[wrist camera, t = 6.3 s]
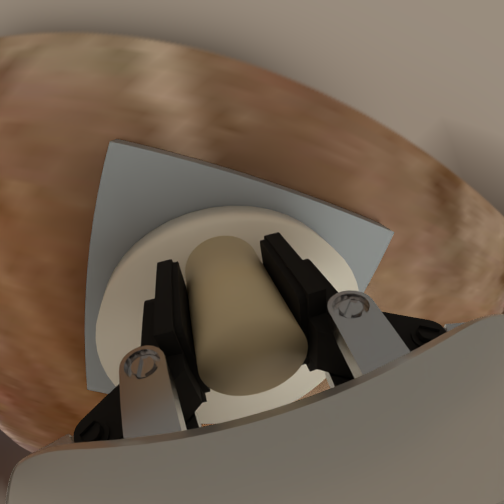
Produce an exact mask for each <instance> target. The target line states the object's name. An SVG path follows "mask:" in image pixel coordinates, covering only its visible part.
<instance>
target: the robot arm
mask: <svg viewBox="0 0 504 504" xmlns="http://www.w3.org/2000/svg"><path fill="white" fill-rule="evenodd" d="M260 248H261V254H262V261H263V265H264V267H265V269H266V270H267V272H268V274H269V275H270V277H271V279H272V280H273V282H274V284H275V286H276V287H277V289H278V291H279V292H280V294H281V296H282V297H283V299H284V301H285V302H286V304H287V306H288V307H289V309H290V311H291V313H292V314H293V316H294V318H295V319H296V321H297V323H298V324H299V326H300V328H301V329H302V331H303V333H304V335H305V337H306V339H307V343H308V351H307V355H306V358H305V360H304V362H303V364H302V365H304V364H306V365H307V367H308V369H309V371H310V372H311V371H314V370H316V369H318V370H321V371H325V376H326V379H327V381H328V383H329V386H330V388H331V389H328V390H326V391H323V392H320V393H318V394H315V395H312V396H310V397H307V398H304V399H301V400H298V401H295V402H292V403H289V404H286V405H283V406H280V407H277V408H274V409H271V410H267V411H264V412H261V413H257V414H253V415H250V416H246V417H242V418H239V419H235V420H231V421H226V422H222V423H218V424H214V425H209V426H204V427H202V426H201V423H200V420H199V417H198V414H197V412H196V410H197V409H198V408H199V406H200V405H201V404H202V403H204V402H207V400H206V395H205V393H207V392H210V388H209V387H207V386H206V385H205V384H204V383H203V381H202V380H201V378H200V376H199V373H198V367H197V361H196V355H195V348H194V341H193V334H192V327H191V319H190V311H189V303H188V294H187V288H186V285H185V282H184V278H183V275H182V272H181V269H180V266H179V263H178V261H177V262H173V261H172V259H169V260H165V261H161V262H158V263H157V271H156V285H155V298H154V299H150V300H146V301H145V302H144V308H143V320H142V333H141V346H140V347H137V348H135V349H133V350H131V351H130V352H128V353H127V354H126V355H125V356H124V357H123V359H122V361H121V363H120V366H119V384H118V385H117V386H116V387H115V388H114V389H113V390H112V391H111V392H110V393H109V394H108V395H107V396H106V397H105V398H104V399H103V400H102V401H101V402H100V403H99V404H98V405H97V406H96V407H95V408H94V409H92V410H91V411H90V412H89V413H88V414H87V415H86V416H85V417H84V418H83V419H82V420H81V421H80V422H79V424H78V425H77V426H76V429H75V431H74V435H73V436H71V435H69V434H67V435H65V436H64V437H62V438H60V439H58V440H56V441H54V442H53V443H51V444H49V445H47V446H45V447H43V448H41V449H39V450H38V451H36V452H34V453H32V454H30V455H28V456H27V457H25V458H23V459H22V460H21V461H19V462H18V463H17V465H16V466H15V467H14V469H13V471H12V474H11V477H10V480H9V484H8V490H7V496H6V504H504V314H494V315H489V316H484V317H480V318H477V319H474V320H471V321H469V322H467V323H454V324H445V326H444V328H443V327H442V326H441V325H440V324H438V323H436V322H434V321H430V320H425V319H419V318H414V317H408V316H402V315H397V314H391V313H386V312H381V310H380V309H379V308H378V306H377V305H376V304H375V302H374V301H373V300H372V299H371V298H370V297H369V296H368V295H367V294H365V293H363V292H359V291H352V290H348V291H342V292H339V293H338V291H337V290H336V289H335V288H334V287H333V286H332V284H331V283H330V282H329V281H328V280H327V279H326V278H325V276H324V275H323V274H322V273H321V272H320V271H319V269H318V268H317V267H316V266H315V265H314V264H313V263H312V262H311V260H309V259H304V260H302V259H301V257H300V256H299V255H298V254H297V253H296V252H295V250H294V249H293V248H292V247H291V246H290V244H289V243H288V242H287V241H286V240H285V239H284V237H283V236H282V235H281V234H280V233H279V232H277V233H273V234H269V235H265V236H264V240H260Z"/></svg>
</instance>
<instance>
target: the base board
mask: <svg viewBox="0 0 504 504" xmlns="http://www.w3.org/2000/svg"><path fill="white" fill-rule="evenodd" d="M222 206H253V207H259V208H265V209H270V210H273V211H276V212H280V213H283V214H286V215H288V216H290V217H292V218H294V219H296V220H298V221H300V222H302V223H304V224H305V225H306V226H308V227H309V228H311V229H312V230H313V231H315V232H316V233H317V234H318V235H319V236H320V237H322V238H323V239H324V240H325V241H326V242H327V243H328V244H329V245H331V246H332V247H333V248H334V249H335V250H336V251H337V252H338V253H339V254H340V255H341V256H342V257H343V259H344V260H345V261H346V263H347V264H348V266H349V267H350V269H351V270H352V272H353V275H354V277H355V279H356V282H357V285H358V290H359V292H363V293H364V291H365V289H366V287H367V285H368V283H369V282H370V280H371V278H372V276H373V274H374V272H375V270H376V268H377V267H378V265H379V263H380V261H381V259H382V257H383V255H384V253H385V251H386V249H387V247H388V245H389V242H390V240H391V238H392V236H393V234H394V232H393V231H391V230H390V229H388V228H387V227H385V226H384V225H382V224H380V223H378V222H376V221H373V220H371V219H368V218H366V217H364V216H361V215H359V214H356V213H354V212H351V211H349V210H346V209H344V208H341V207H339V206H336V205H333V204H331V203H328V202H326V201H323V200H320V199H318V198H315V197H312V196H309V195H307V194H304V193H301V192H298V191H296V190H293V189H290V188H287V187H284V186H281V185H278V184H275V183H272V182H269V181H266V180H263V179H260V178H257V177H254V176H251V175H248V174H245V173H242V172H239V171H235V170H232V169H229V168H226V167H222V166H219V165H216V164H212V163H209V162H205V161H202V160H198V159H195V158H191V157H188V156H184V155H180V154H177V153H173V152H169V151H165V150H161V149H157V148H153V147H149V146H145V145H141V144H137V143H132V142H128V141H124V140H119V139H115V140H113V141H110V143H109V147H108V151H107V155H106V159H105V163H104V167H103V171H102V176H101V181H100V186H99V191H98V196H97V201H96V207H95V213H94V219H93V226H92V233H91V241H90V249H89V258H88V269H87V282H86V300H85V360H86V378H87V390H92V391H96V392H101V393H106V394H109V393H110V392H111V391H112V390H113V389H114V388H115V387H116V386H115V385H114V384H113V383H112V381H111V380H110V379H109V377H108V376H107V374H106V372H105V370H104V368H103V366H102V365H101V362H100V359H99V356H98V352H97V346H96V339H95V338H96V323H97V318H98V314H99V310H100V307H101V303H102V300H103V296H104V293H105V290H106V287H107V284H108V281H109V279H110V277H111V275H112V273H113V271H114V269H115V268H116V266H117V265H118V263H119V262H120V260H121V259H122V258H123V256H124V255H125V254H126V253H127V252H128V251H129V250H130V249H131V248H132V247H133V246H134V244H135V243H136V242H138V241H139V240H140V239H142V238H143V237H144V236H145V235H147V234H148V233H149V232H151V231H152V230H154V229H156V228H157V227H159V226H161V225H163V224H164V223H166V222H168V221H170V220H172V219H175V218H177V217H180V216H182V215H185V214H188V213H191V212H195V211H199V210H203V209H207V208H213V207H222Z"/></svg>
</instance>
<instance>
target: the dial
mask: <svg viewBox="0 0 504 504" xmlns="http://www.w3.org/2000/svg"><path fill="white" fill-rule="evenodd" d="M277 232H279V233H280V234H281V235H282V236H283V237H284V239H285V240H286V241H287V242H288V243H289V244H290V246H291V247H292V248H293V249H294V250H295V252H296V253H297V254H298V255H299V256H300V257H301V259H302V260H304V259H309V260H311V262H312V263H313V264H314V265H315V266H316V267H317V268H318V269H319V271H320V272H321V273H322V274H323V275H324V276H325V278H326V279H327V280H328V281H329V282H330V283H331V284H332V286H333V287H334V288H335V289H336V290H337V291H338V293H339V292H342V291H348V290H352V291H359V290H358V285H357V282H356V279H355V277H354V275H353V272H352V270H351V269H350V267H349V266H348V264H347V263H346V261H345V260H344V259H343V257H342V256H341V255H340V254H339V253H338V252H337V251H336V250H335V249H334V248H333V247H332V246H331V245H329V244H328V243H327V242H326V241H325V240H324V239H323V238H322V237H320V236H319V235H318V234H317V233H316V232H315V231H313V230H312V229H311V228H309V227H308V226H306V225H305V224H304V223H302V222H300V221H298V220H296V219H294V218H292V217H290V216H288V215H286V214H283V213H280V212H276V211H273V210H270V209H265V208H259V207H253V206H222V207H213V208H207V209H203V210H199V211H195V212H191V213H188V214H185V215H182V216H180V217H177V218H175V219H172V220H170V221H168V222H166V223H164V224H163V225H161V226H159V227H157V228H156V229H154V230H152V231H151V232H149V233H148V234H147V235H145V236H144V237H143V238H142V239H140V240H139V241H138V242H136V243H135V244H134V246H133V247H132V248H131V249H130V250H129V251H128V252H127V253H126V254H125V255H124V256H123V258H122V259H121V260H120V262H119V263H118V265H117V266H116V268H115V269H114V271H113V273H112V275H111V277H110V279H109V281H108V284H107V287H106V290H105V293H104V296H103V300H102V303H101V307H100V310H99V314H98V318H97V323H96V338H95V339H96V346H97V352H98V356H99V359H100V362H101V365H102V366H103V368H104V370H105V372H106V374H107V376H108V377H109V379H110V380H111V381H112V383H113V384H114V385H115V386H117V385H118V384H119V366H120V363H121V361H122V359H123V357H124V356H125V355H126V354H127V353H128V352H130V351H131V350H133V349H135V348H137V347H140V346H141V333H142V320H143V308H144V302H145V301H146V300H150V299H154V298H155V285H156V271H157V263H158V262H161V261H165V260H169V259H172V261H173V262H177V261H178V263H179V266H180V269H181V272H182V275H183V278H184V282H185V285H186V288H187V294H188V303H189V311H190V319H191V327H192V334H193V341H194V348H195V355H196V361H197V367H198V373H199V376H200V378H201V380H202V381H203V383H204V384H205V385H206V386H207V387H209V388H210V392H207V393H205V395H206V400H207V402H204V403H202V404H201V405H200V406H199V408H198V409H197V410H196V412H197V414H198V417H199V420H200V423H201V424H218V423H222V422H226V421H231V420H235V419H239V418H242V417H246V416H250V415H253V414H257V413H261V412H264V411H267V410H271V409H274V408H277V407H280V406H283V405H286V404H289V403H292V402H294V401H296V400H298V399H299V398H301V397H302V396H304V395H305V394H307V393H308V392H310V391H311V390H312V389H314V388H315V387H316V386H317V385H318V384H320V383H321V382H322V381H323V380H324V379H325V378H326V376H325V371H321V370H318V369H316V370H314V371H311V372H310V371H309V369H308V367H307V365H306V364H304V365H302V364H303V362H304V360H305V358H306V355H307V351H308V343H307V339H306V337H305V335H304V333H303V331H302V329H301V328H300V326H299V324H298V323H297V321H296V319H295V318H294V316H293V314H292V313H291V311H290V309H289V307H288V306H287V304H286V302H285V301H284V299H283V297H282V296H281V294H280V292H279V291H278V289H277V287H276V286H275V284H274V282H273V280H272V279H271V277H270V275H269V274H268V272H267V270H266V269H265V267H264V265H263V261H262V254H261V248H260V240H264V236H265V235H269V234H273V233H277Z"/></svg>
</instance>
